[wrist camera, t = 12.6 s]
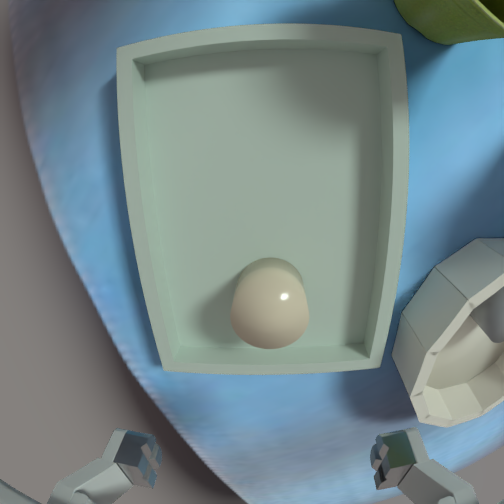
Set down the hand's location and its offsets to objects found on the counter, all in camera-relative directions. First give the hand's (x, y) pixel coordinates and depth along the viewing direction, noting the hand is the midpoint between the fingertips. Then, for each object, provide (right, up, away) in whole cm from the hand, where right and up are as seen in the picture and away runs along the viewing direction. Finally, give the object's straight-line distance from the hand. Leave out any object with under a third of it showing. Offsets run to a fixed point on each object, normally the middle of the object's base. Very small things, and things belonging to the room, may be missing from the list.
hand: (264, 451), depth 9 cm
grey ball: (+19, +3, +10) cm, 22 cm away
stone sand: (+1, +5, +11) cm, 12 cm away
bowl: (+19, +1, +12) cm, 23 cm away
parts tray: (+1, +9, +10) cm, 14 cm away
